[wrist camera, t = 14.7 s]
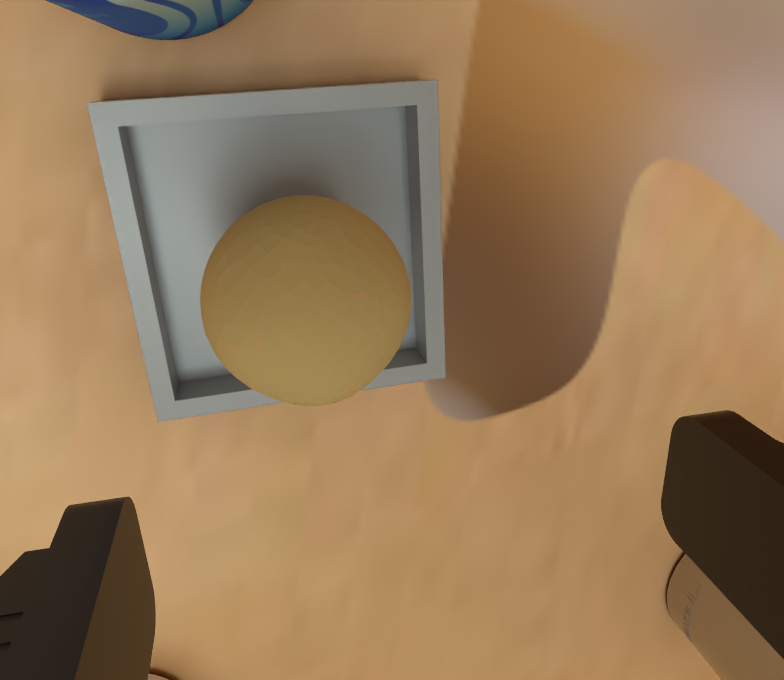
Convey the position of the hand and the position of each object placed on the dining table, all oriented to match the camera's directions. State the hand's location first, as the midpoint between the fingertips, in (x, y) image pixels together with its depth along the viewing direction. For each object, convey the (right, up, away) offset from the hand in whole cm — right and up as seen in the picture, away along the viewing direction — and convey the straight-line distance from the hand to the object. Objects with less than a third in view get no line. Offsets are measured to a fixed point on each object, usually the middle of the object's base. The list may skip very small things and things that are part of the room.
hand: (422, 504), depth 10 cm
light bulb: (-5, +6, +17) cm, 19 cm away
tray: (-5, +6, +17) cm, 19 cm away
